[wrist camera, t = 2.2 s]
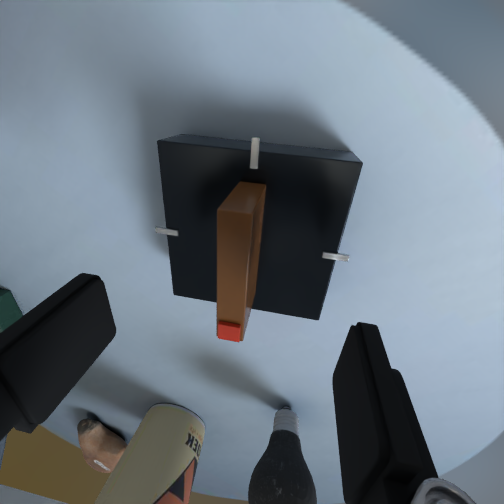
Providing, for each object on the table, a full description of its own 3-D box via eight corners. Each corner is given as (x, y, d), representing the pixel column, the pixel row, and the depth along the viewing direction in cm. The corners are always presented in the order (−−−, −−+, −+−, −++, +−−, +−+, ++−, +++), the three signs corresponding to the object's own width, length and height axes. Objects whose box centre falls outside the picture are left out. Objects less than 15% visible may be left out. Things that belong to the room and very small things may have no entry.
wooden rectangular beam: (239, 180, 13) (214, 210, 10) (266, 184, 13) (252, 215, 9) (234, 289, 17) (214, 340, 13) (255, 292, 17) (241, 346, 13)
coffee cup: (215, 446, 35) (178, 589, 25) (151, 433, 36) (90, 564, 26) (207, 406, 30) (157, 562, 20) (134, 393, 32) (52, 533, 21)
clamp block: (170, 121, 15) (141, 126, 13) (367, 141, 14) (382, 150, 11) (182, 276, 21) (164, 301, 18) (323, 299, 20) (326, 331, 17)
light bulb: (323, 418, 27) (332, 562, 19) (279, 427, 30) (268, 558, 21) (296, 387, 26) (291, 530, 17) (250, 399, 28) (226, 530, 19)
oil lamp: (141, 423, 37) (88, 403, 37) (124, 454, 33) (66, 432, 33) (132, 456, 41) (84, 439, 41) (117, 487, 37) (64, 468, 37)
